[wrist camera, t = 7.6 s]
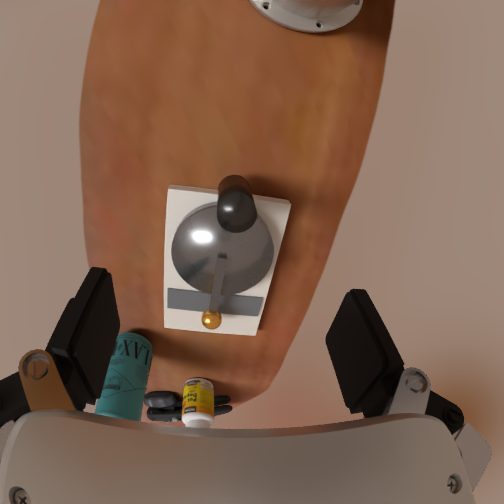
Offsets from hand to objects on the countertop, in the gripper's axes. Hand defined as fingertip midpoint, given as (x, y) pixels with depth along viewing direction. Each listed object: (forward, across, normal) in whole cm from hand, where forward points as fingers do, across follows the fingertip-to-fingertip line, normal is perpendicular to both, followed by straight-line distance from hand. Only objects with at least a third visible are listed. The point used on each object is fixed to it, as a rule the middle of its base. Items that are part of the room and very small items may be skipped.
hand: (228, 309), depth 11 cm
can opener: (+20, +3, +46) cm, 50 cm away
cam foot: (+20, -1, +9) cm, 22 cm away
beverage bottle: (+21, +11, +28) cm, 37 cm away
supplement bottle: (+20, +1, +40) cm, 45 cm away
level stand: (+21, -1, +13) cm, 25 cm away
